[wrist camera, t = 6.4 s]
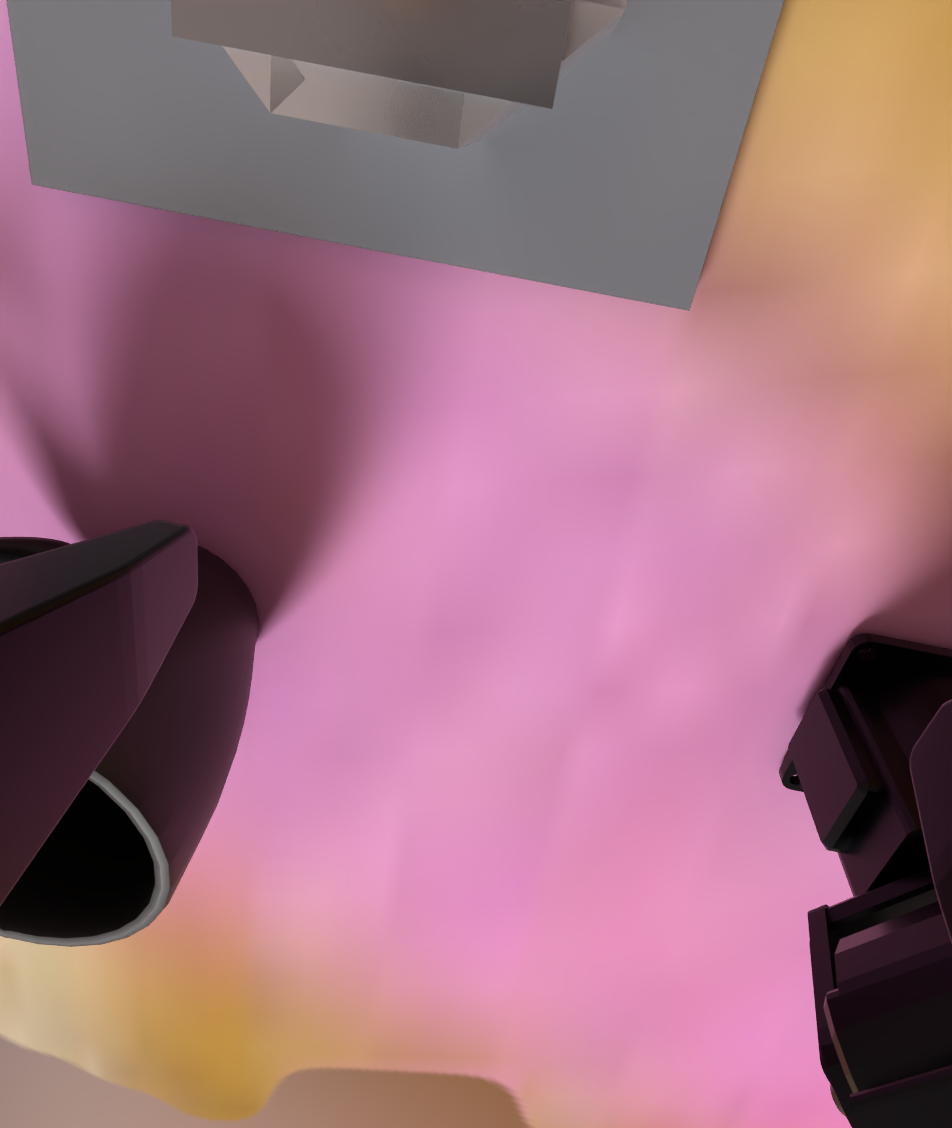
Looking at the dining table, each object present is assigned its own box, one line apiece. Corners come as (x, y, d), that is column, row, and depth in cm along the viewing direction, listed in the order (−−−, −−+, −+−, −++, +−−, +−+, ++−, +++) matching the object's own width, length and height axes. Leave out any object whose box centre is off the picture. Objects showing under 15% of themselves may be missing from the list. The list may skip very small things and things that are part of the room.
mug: (13, 356, 21) (-331, 509, 13) (347, 610, 25) (238, 857, 16) (-85, 534, 25) (-402, 741, 17) (217, 734, 28) (76, 986, 20)
